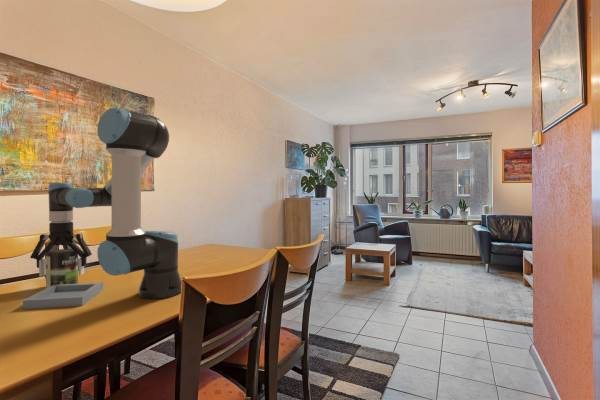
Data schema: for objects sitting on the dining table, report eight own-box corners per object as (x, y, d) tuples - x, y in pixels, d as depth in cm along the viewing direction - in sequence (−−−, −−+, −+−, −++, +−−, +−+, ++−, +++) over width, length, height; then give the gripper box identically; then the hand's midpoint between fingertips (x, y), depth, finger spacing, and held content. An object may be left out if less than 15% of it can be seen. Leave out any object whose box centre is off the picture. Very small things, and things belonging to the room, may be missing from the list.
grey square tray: (103, 289, 120) (103, 282, 120) (82, 305, 104) (82, 297, 104) (53, 292, 117) (52, 284, 117) (22, 309, 100) (22, 300, 100)
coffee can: (84, 283, 128) (84, 249, 128) (60, 291, 118) (60, 254, 118) (63, 281, 130) (63, 248, 130) (38, 289, 120) (37, 252, 120)
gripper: (100, 220, 130) (101, 271, 130) (30, 221, 124) (31, 274, 125) (92, 222, 122) (93, 276, 123) (18, 223, 117) (19, 279, 118)
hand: (62, 275), depth 124 cm, fingers open, 13 cm apart
